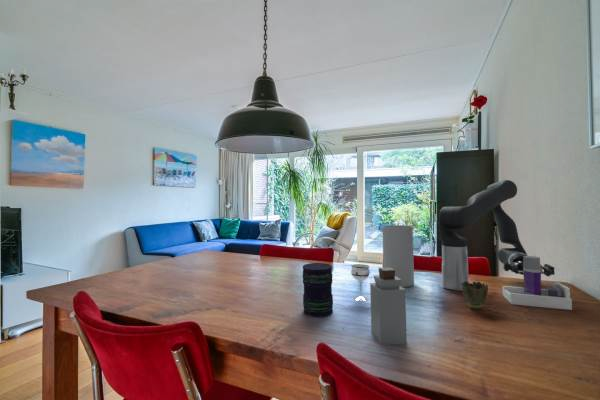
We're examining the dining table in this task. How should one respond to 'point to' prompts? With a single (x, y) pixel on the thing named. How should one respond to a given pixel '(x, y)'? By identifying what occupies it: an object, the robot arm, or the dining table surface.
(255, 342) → the dining table surface
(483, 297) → the cup
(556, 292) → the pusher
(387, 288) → the perfume bottle
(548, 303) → the white drawer
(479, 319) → the dining table surface
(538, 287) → the container
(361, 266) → the wineglass
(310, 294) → the storage jar
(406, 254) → the grey rectangular pillar
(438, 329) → the dining table surface
